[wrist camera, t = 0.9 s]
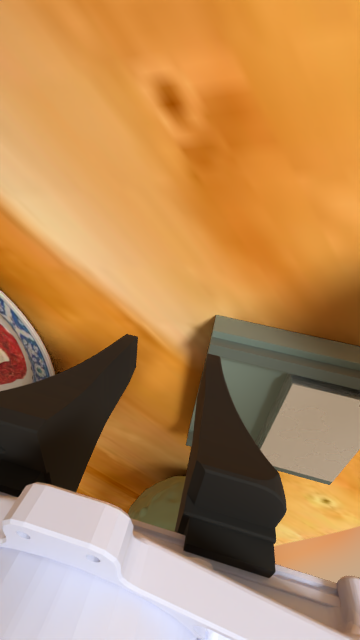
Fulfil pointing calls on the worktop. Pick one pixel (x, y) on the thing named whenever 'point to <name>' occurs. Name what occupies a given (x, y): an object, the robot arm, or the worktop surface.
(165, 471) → the worktop surface
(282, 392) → the cover plate
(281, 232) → the worktop surface
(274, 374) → the case
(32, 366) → the ceramic plate
